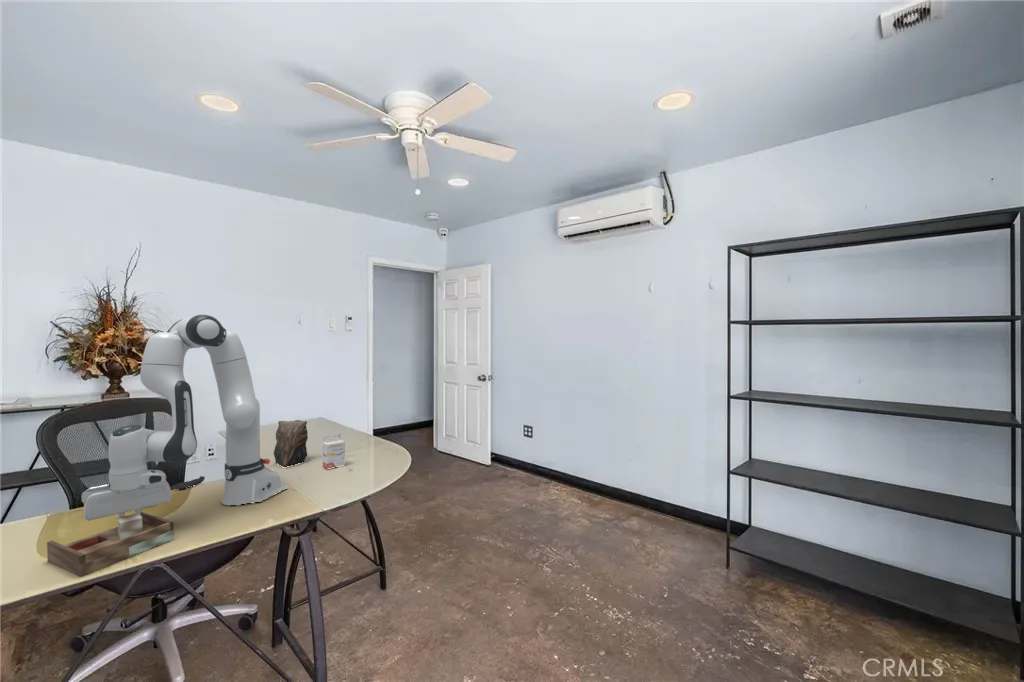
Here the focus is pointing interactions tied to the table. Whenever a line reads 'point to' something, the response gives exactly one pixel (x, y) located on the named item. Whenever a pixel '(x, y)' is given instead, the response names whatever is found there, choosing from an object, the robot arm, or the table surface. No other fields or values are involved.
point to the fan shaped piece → (187, 484)
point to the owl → (291, 442)
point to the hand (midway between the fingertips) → (130, 524)
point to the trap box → (109, 546)
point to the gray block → (129, 525)
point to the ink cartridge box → (333, 451)
